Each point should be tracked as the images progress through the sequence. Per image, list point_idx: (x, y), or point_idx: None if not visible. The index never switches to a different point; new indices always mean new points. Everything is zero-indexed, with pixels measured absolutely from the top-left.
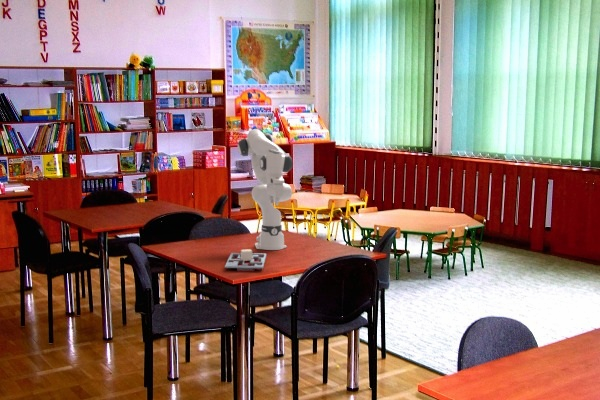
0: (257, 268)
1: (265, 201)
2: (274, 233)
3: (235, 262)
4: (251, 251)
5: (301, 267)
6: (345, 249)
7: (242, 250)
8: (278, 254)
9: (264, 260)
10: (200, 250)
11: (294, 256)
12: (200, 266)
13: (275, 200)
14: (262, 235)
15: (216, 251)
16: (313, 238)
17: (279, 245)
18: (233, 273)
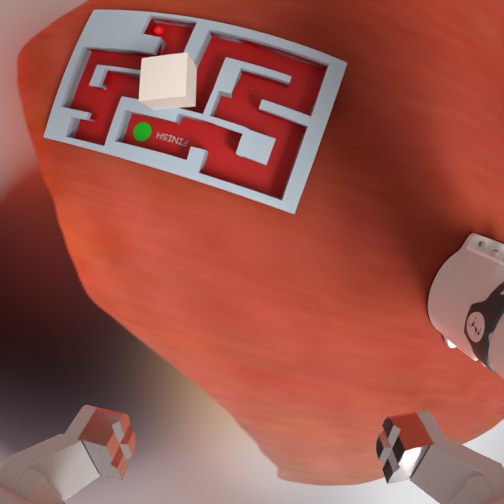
0: (77, 121)
1: None
2: (469, 323)
3: (134, 40)
4: (139, 97)
5: (93, 292)
6: (337, 476)
7: (167, 56)
8: (354, 287)
9: (136, 161)
10: (479, 36)
11: (293, 335)
12: None
13: (44, 450)
14: (494, 269)
15: (464, 71)
16: (493, 423)
17: (439, 321)
18: (67, 43)
